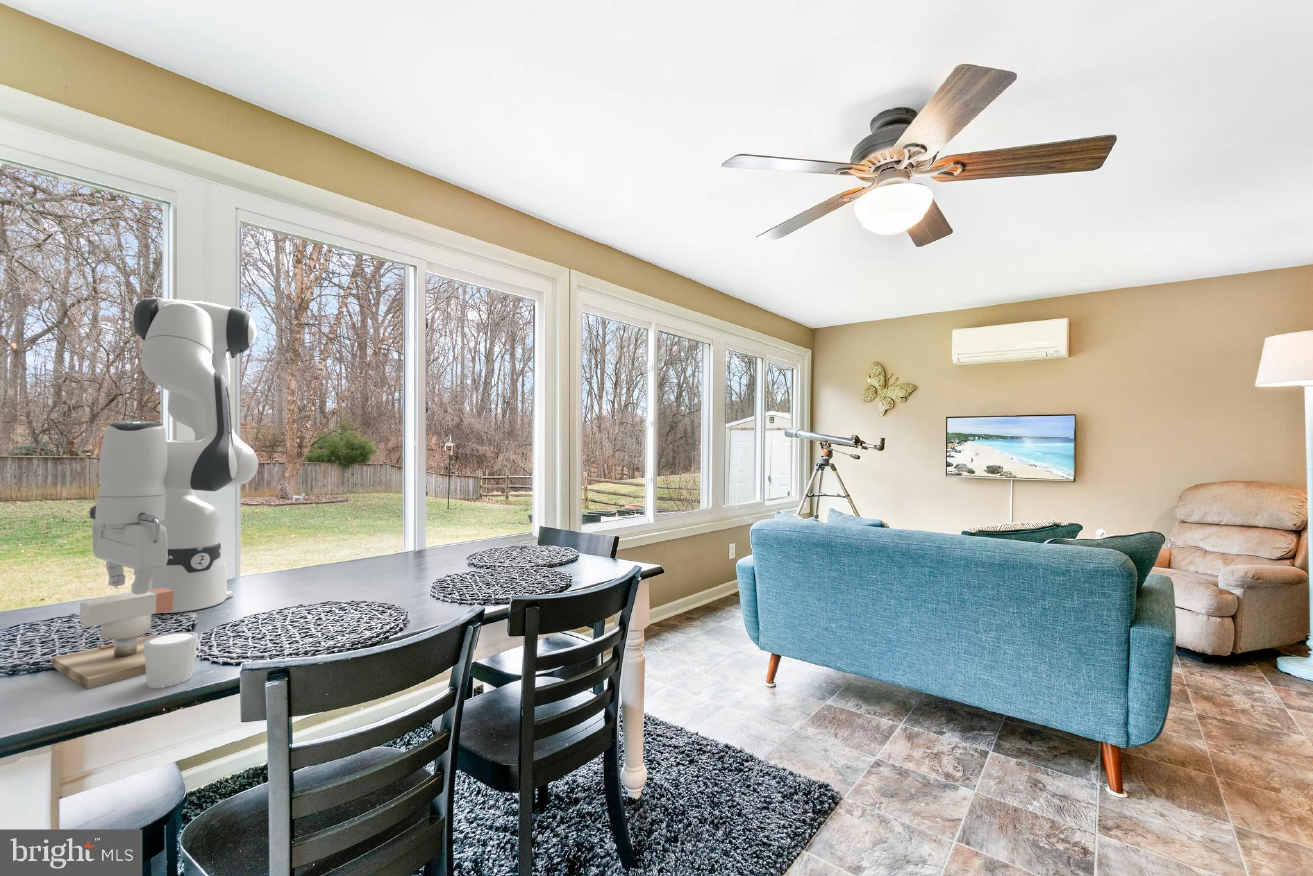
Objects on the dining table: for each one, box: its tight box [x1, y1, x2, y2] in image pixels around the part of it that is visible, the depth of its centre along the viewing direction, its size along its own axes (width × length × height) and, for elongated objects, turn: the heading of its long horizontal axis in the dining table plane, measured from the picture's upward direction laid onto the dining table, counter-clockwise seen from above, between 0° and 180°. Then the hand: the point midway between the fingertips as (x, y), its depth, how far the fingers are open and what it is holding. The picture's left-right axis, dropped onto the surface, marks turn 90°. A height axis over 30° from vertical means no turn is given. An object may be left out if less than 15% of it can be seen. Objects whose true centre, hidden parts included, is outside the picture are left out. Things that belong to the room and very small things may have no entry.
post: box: [113, 636, 139, 658], centre depth 98 cm, size 3×3×4 cm
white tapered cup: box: [144, 631, 199, 688], centre depth 92 cm, size 7×7×7 cm
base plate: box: [51, 634, 159, 690], centre depth 98 cm, size 16×14×2 cm
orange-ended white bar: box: [79, 588, 173, 640], centre depth 98 cm, size 6×11×7 cm, turn 152°
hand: (127, 589), depth 97 cm, fingers open, 8 cm apart
